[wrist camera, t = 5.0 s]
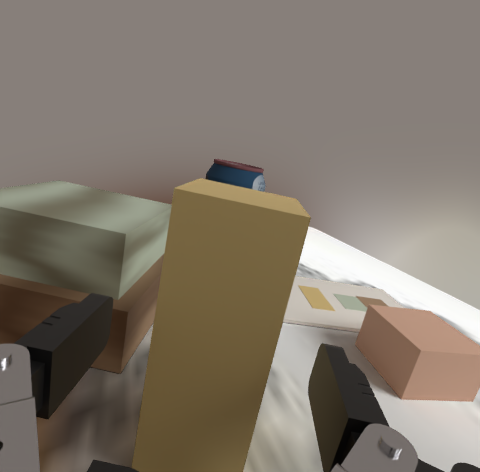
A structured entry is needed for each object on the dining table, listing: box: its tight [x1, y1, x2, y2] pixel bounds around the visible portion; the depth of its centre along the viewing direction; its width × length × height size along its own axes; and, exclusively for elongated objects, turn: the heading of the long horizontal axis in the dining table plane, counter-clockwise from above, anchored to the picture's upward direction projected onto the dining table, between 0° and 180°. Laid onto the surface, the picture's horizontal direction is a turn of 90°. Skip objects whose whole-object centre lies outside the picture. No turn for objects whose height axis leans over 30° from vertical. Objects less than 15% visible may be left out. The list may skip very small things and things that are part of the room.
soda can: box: [206, 159, 265, 192], centre depth 38 cm, size 7×7×12 cm
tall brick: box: [132, 178, 311, 472], centre depth 14 cm, size 4×4×12 cm
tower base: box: [0, 181, 172, 373], centre depth 23 cm, size 12×12×8 cm
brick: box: [355, 304, 480, 402], centre depth 25 cm, size 6×6×4 cm
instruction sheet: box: [283, 276, 404, 332], centre depth 35 cm, size 16×11×1 cm
